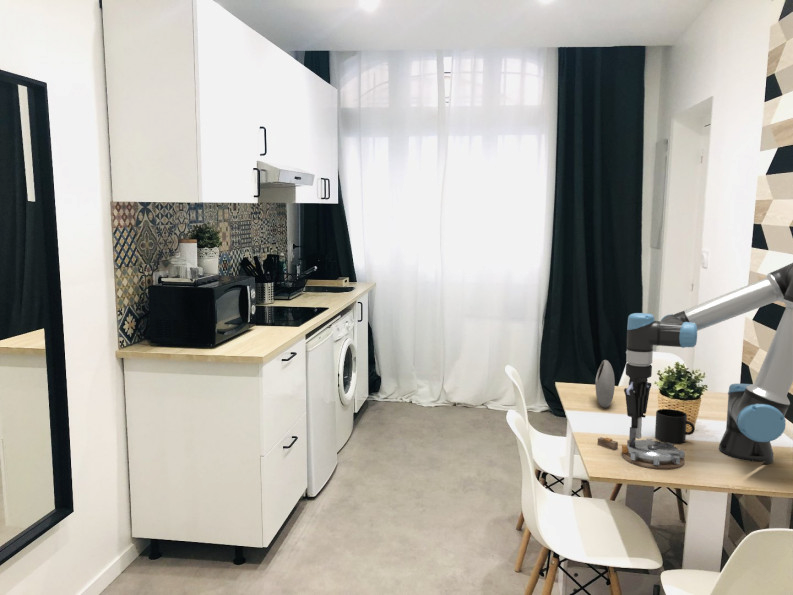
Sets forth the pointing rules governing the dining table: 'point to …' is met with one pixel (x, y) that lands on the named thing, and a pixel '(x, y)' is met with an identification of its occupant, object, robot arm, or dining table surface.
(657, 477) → the dining table surface
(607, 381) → the grey flattened round ornament
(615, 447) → the rail
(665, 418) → the mug
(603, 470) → the dining table surface
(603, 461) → the dining table surface
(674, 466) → the sprocket base
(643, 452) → the sprocket
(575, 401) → the dining table surface
